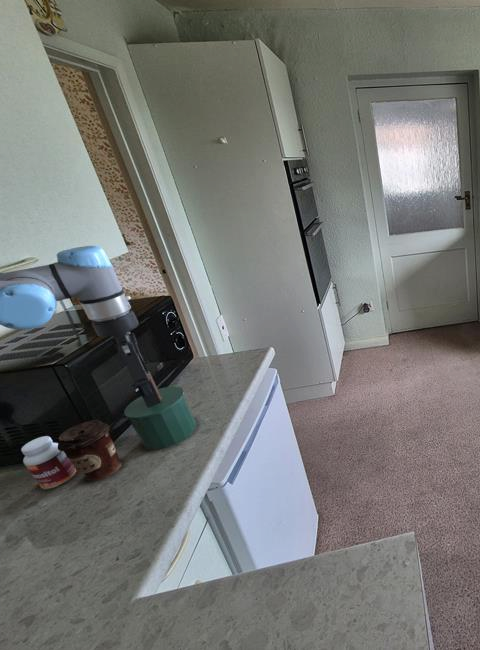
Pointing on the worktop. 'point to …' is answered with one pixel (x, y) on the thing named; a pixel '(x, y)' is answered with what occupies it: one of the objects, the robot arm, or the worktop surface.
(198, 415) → the worktop surface
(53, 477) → the pill bottle
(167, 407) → the tin lid
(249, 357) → the worktop surface
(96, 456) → the brown jar
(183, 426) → the tin
